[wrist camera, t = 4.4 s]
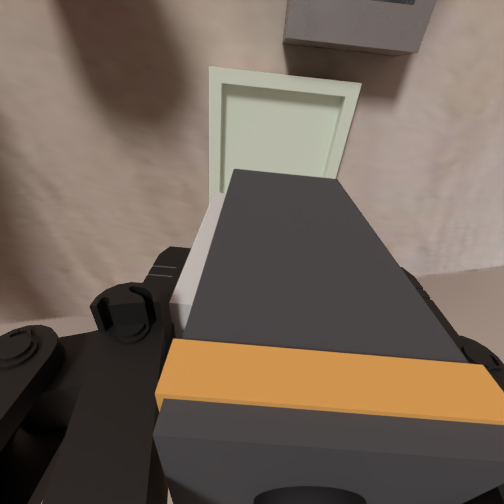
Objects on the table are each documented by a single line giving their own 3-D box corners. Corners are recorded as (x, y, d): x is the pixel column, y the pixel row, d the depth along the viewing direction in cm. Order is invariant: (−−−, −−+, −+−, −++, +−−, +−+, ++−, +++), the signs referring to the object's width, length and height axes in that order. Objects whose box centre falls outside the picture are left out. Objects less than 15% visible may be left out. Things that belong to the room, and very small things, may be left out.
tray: (211, 202, 28) (209, 208, 27) (212, 67, 21) (209, 66, 20) (321, 213, 28) (324, 219, 27) (356, 82, 21) (362, 83, 20)
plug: (227, 255, 14) (138, 719, 4) (231, 166, 11) (-24, 928, 1) (315, 263, 14) (447, 734, 4) (339, 177, 11) (934, 956, 1)
